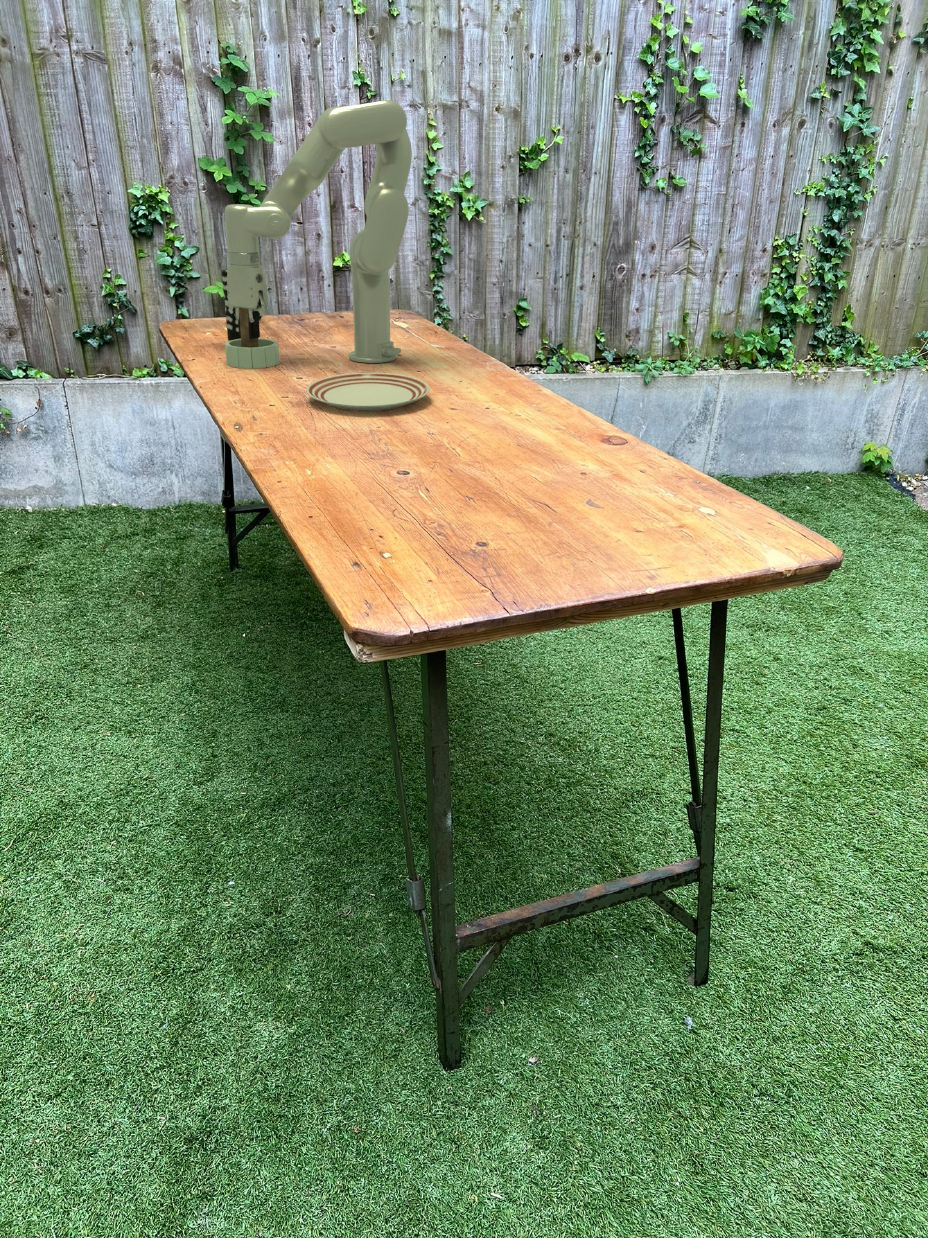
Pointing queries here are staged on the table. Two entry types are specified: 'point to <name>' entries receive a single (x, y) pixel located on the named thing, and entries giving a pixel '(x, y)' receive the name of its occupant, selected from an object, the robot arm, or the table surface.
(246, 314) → the wooden rectangular post
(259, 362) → the green faceted socket ring
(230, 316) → the white-spotted black cylinder
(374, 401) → the dinner plate
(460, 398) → the table surface
